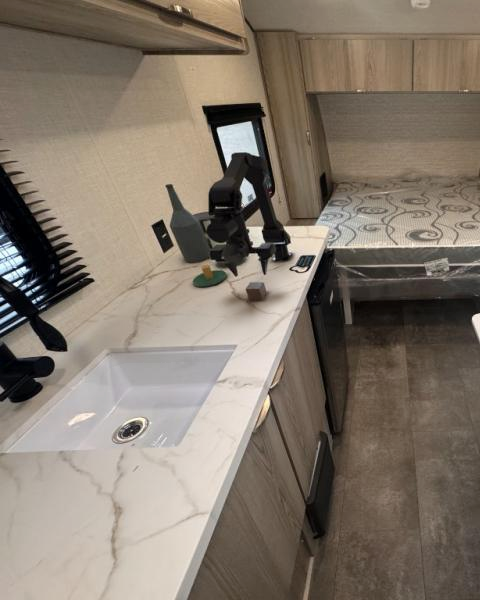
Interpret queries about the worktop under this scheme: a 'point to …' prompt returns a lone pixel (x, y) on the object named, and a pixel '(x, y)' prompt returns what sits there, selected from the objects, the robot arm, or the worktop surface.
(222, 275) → the lid
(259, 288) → the block
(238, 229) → the robot arm
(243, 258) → the tin
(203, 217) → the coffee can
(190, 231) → the bottle
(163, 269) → the worktop surface
